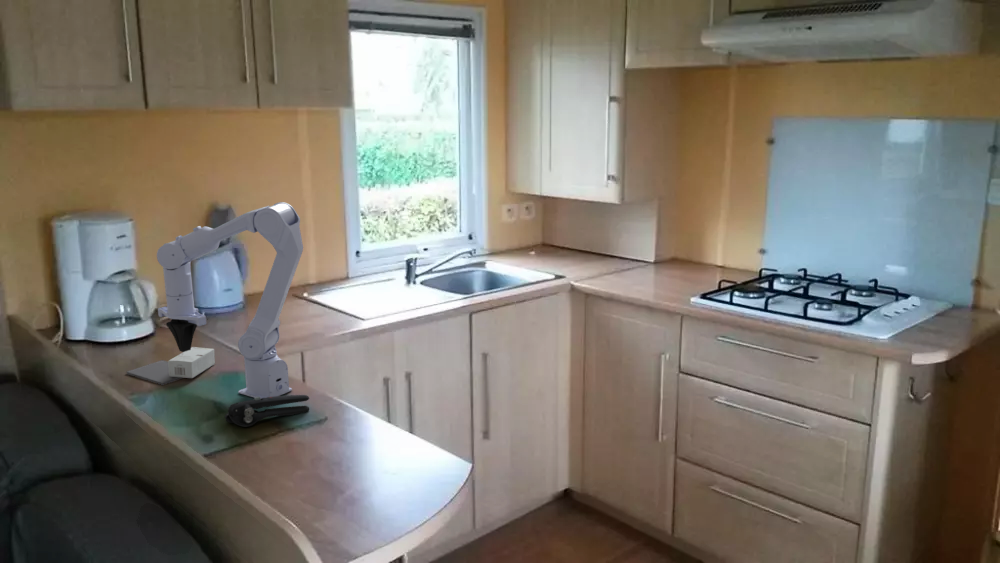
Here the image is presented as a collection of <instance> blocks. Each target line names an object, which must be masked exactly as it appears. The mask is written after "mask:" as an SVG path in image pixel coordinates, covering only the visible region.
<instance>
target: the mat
mask: <svg viewBox="0 0 1000 563" xmlns="http://www.w3.org/2000/svg"><path fill="white" fill-rule="evenodd" d="M125 373H126V375H128V376H132V377H134V376H135V378H138V379H141V380H144V381H147V380H148V381H147V382H150V381H151V383H154V382H155V383H154V384H157V383H158V384H157V385H160V384H161V385H160V386H164V384H165V385H168V384H171V383H173V382H176V381H178V380H181V379H184V378H183V377H170V376H169V366H168V361H167V360H163V359H161V360H158V361H155V362H151V363H149V364H146V365H143V366H139V367H137V368H133V369H130V370H127V371H126V372H125ZM170 382H171V383H170ZM167 383H168V384H167Z"/></svg>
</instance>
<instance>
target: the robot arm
mask: <svg viewBox="0 0 1000 563" xmlns="http://www.w3.org/2000/svg"><path fill="white" fill-rule="evenodd" d="M300 223H301V217H300V216H299V215H298V213H297V211H296V210H295V208H294V207H293V206H292V205H291V204H289V203H287V202H284V201H279V202H276V203H274V204H273V205H267V206H263V207H260V208H256V209H253V210H250V211H247V212H245V213H243V214H241V215H239V216H236V217H235V218H232V219H230V220H229V221H227V222H225V223H223V224H221V225H219V226H217V227H214V228H213V227H209V226H205V225H204V226H203V227H202V226H201V225H198V226H196V227H194V228H192V230H193V231H191V232H189V233H188V234H185V235H183V236H182V235H177V236H176V237H175V240H172V241H169V242H167V243H166V242H165V243H163V245H161V246H160V247H159V248H158V249H157V251H156V259H157V262H158V264H159V265H160V266H161V267H162V272H163V280H164V289H165V299H166V306H162V307H158V308H157V313H158V314H157V315H158V317H159V318H163V317H165V318H168V319H170V321H168V322H166V324H165V325H166V327H167V329H169V331H170V332H171V334H172V336H173V338H174V340H175V342H176V345H177V347H178V350H179V352H181V353H183V352H185V351H188V350H191V348H192V343H193V338H194V334H195V332H196V329H197V327H201V326H205V325H207V316H206V315H205V314H201V313H200V312H199V308H197V307H195V302H194V301H195V300H194V292H193V291H194V290H193V280H192V279H193V278H192V270H191V268H192V267H191V263H192V261H195V260H197V259H199V258H201V257H204V256H206V255H208V254H210V253H213V252H215V251H217V250H218V249H219V246H220V244H221V242H222V241H224V240H227V239H229V238H232V237H233V236H236V235H239V234H240V233H242V232H246V231H248V232H251V233H253V234H256V233H257V232H258V233H259V235H261V237H263V238H264V239H265V240H266V241H268V243H269V244H270V245H271V246H272V247H273V248H274V250H275V252H276V254H275V258H274V261H273V262H272V265H271V266H272V267H271V269H270V272H269V275H268V278H267V280H266V284H265V286H264V290H263V292H262V295H261V298H260V300H259V304H258V306H257V309H256V311H255V315H254V317H253V318H252V320H251V321H250V323H248V324H249V325H248V326H247V328H246V331H245V332H244V333H243V334H242V335H241V336H240V337H239V339H238V342H237V347H238V351H239V352H240V355H242V356H243V362H244V375H245V384H246V387H245V388H242V389H239V390H238V394H241V395H244V396H247V397H250V398H253V399H254V398H255V397H260V399H261V398H267V397H274V396H283V395H284V394H287V393H289V392H291V391H293V388H292V387H290V381H289V369H288V368H289V367H288V364H287V362H286V361H285V360H284V359H282V358H280V357H279V355H278V354H277V352H278V351H277V347H276V345H277V344H278V342H279V340H280V325H281V321H280V317H281V316H280V315H281V314H282V310H283V307H284V304H285V301H286V299H287V296H288V293H289V290H290V287H291V285H292V282H293V279H294V276H295V273H296V271H297V268H298V265H299V262H300V259H301V257H302V254H303V251H304V245H303V238H302V233H301V228H300V225H301V224H300Z"/></svg>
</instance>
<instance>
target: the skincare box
mask: <svg viewBox="0 0 1000 563" xmlns="http://www.w3.org/2000/svg"><path fill="white" fill-rule="evenodd" d="M167 362H168V366H169V376H170V377H183V378H182V379H184V378H187V379H193V378H195V377H196V376H198V375H200V374H201V373H203V372H204V371H206V370H208V369H209V368H211V367H212V366H214V365H216V363H215V362H216V360H215V348H207V347H197V346H191V350H188V351H185V352H181V353H179V354H178V355H176V356H175V357H173V358H171V359H169V360H168V361H167Z"/></svg>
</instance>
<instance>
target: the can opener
mask: <svg viewBox="0 0 1000 563" xmlns="http://www.w3.org/2000/svg"><path fill="white" fill-rule="evenodd" d="M309 400H310V397H309V395H306V394H301V395H300V394H295V395H294V394H293V395H280V396H274V397H267V398H261V399H260V397H255V398H254V397H253V399H249V400H244V401H240V402H236V403H232V404H231V405H230V406H229V407H228V409H227V413H225V415H224V419H225V420H226V421H227V422H228V423H231V424H232V423H233V424H235V425H237V426H240V427H243V428H245V427H247V428H249V427H251V426H253V425H255V424H256V423H257V422H259V421H260V420H263V419H265V418H271V417H282V416H283V417H284V416H285V417H286V416H294V414H295V415H299V413H300V414H303V412H304V413H306V411H307V412H308V411H309V410H310V407H309V406H308V405H293V406H283V405H287V404H288V405H289V404H294V403H295V404H296V403H302V402H307V401H309ZM276 406H283V407H276ZM269 407H270V408H269ZM271 407H273V408H271ZM274 407H275V408H274ZM261 408H266V409H264V410H261V411H259V409H261Z"/></svg>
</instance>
